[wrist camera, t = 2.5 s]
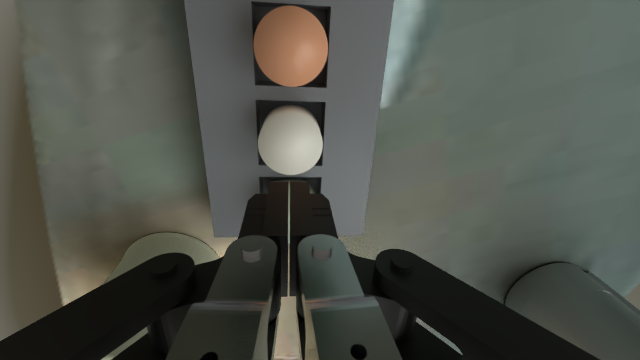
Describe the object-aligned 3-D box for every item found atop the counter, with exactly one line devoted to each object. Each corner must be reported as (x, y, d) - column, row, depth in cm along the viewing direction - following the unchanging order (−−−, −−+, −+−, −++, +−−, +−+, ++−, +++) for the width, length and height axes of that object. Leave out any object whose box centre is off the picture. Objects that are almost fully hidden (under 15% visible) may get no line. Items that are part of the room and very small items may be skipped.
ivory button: (320, 104, 20) (324, 114, 18) (317, 158, 22) (321, 175, 19) (261, 102, 20) (256, 112, 17) (263, 157, 22) (259, 174, 19)
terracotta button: (324, 13, 18) (330, 7, 15) (321, 81, 20) (325, 88, 17) (258, 8, 18) (251, 2, 15) (260, 79, 19) (255, 85, 17)
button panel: (380, 2, 20) (394, -4, 17) (355, 216, 27) (362, 235, 24) (197, -10, 19) (181, -18, 16) (222, 216, 26) (214, 237, 23)
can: (239, 253, 28) (206, 388, 17) (204, 316, 31) (157, 464, 20) (139, 216, 25) (25, 346, 15) (111, 288, 28) (0, 441, 18)
